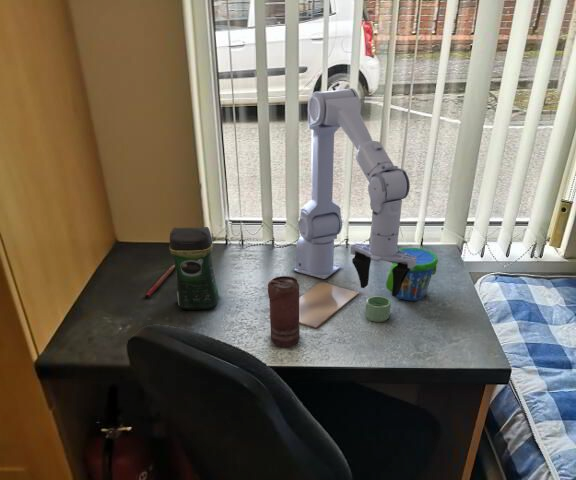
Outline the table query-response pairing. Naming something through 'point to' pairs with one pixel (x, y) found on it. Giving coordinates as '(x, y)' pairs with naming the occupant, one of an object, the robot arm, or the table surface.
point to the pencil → (160, 281)
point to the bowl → (377, 308)
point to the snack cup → (415, 274)
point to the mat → (322, 303)
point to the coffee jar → (194, 267)
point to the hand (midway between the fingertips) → (379, 290)
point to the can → (284, 311)
